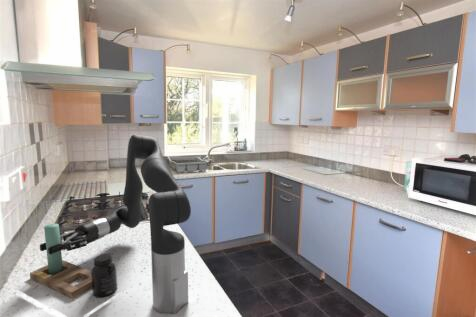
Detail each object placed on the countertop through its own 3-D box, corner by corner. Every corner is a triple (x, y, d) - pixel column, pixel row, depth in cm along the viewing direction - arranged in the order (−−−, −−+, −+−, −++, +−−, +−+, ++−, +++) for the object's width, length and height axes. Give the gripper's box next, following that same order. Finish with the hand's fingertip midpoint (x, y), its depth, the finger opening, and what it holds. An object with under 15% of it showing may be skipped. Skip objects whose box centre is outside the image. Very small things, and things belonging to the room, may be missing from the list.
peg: (65, 270, 95) (61, 225, 93) (53, 276, 92) (48, 229, 89) (58, 267, 97) (54, 222, 95) (46, 272, 94) (41, 226, 91)
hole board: (102, 284, 92) (102, 275, 91) (72, 301, 83) (72, 291, 82) (61, 267, 101) (60, 258, 101) (30, 281, 93) (29, 272, 92)
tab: (113, 265, 103) (113, 263, 103) (91, 278, 95) (90, 275, 95) (97, 259, 107) (96, 257, 107) (74, 271, 99) (73, 268, 99)
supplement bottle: (89, 293, 87) (86, 256, 85) (112, 284, 91) (110, 249, 90) (97, 304, 82) (94, 265, 80) (121, 294, 87) (119, 257, 85)
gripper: (80, 217, 108) (30, 234, 93) (105, 224, 102) (56, 243, 87) (81, 236, 109) (33, 255, 94) (106, 244, 103) (58, 266, 88)
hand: (44, 249), depth 91 cm, fingers closed on peg, 4 cm apart
